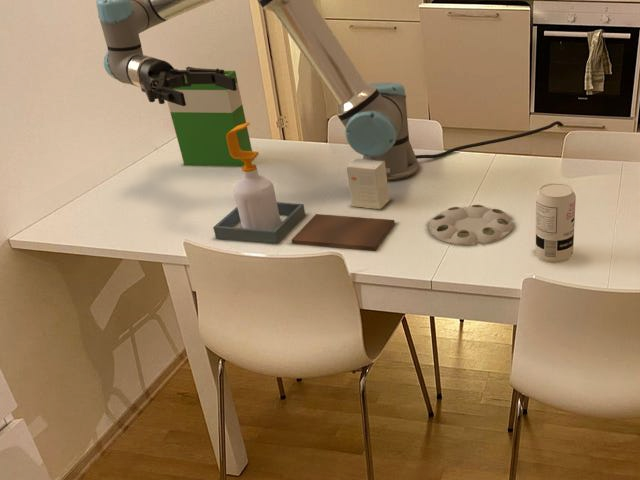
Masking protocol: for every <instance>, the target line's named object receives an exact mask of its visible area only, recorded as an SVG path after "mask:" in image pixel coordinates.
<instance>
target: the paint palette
mask: <svg viewBox="0 0 640 480" xmlns="http://www.w3.org/2000/svg"><path fill="white" fill-rule="evenodd" d="M498 221H500V222H502V223H504V224H502V223H499V222H498ZM445 227H446V229H445V230H442V231H439V230H440V229H442V228H445ZM513 227H514V225H513V222H511V218H510V216H508V214H507V213H506V212H505V211H504V210H501V209H498V208H493V209H490V208H487V207H486V206H484V205H482V204H472V205H470V206H468V207H463V208H462V207H459V206H452V207H449V208H447V209H446V210H445V211H444V212H443V213H441V214H439V215H436V216H434V217H433V218H432V219H431V220H430V221H429V232H430V234H431V235H432V237H434V238H435V239H437V240H439V241H441V242H443V243H447V244H451V245H456V246H475V245H476V244H478V243H481V244H482V245H484V244H490V243H494V242H496V241H499V240H501V239H503V238H504V237H506V236H508V234H510V233H511V232H512V231H513ZM491 230H493V231H494V233H493V234H491V235H490V234H486V233H484V232H488V231H491ZM463 234H465V235H466V234H467V235H468V236H465V237H459V236H458V235H463Z"/></svg>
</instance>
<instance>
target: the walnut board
mask: <svg viewBox="0 0 640 480" xmlns="http://www.w3.org/2000/svg"><path fill="white" fill-rule="evenodd" d="M395 221H396V220H395V219H386V218H375V217H374V218H373V217H360V216H347V215H337V214H336V215H335V214H334V215H333V214H323V213H321V214H320V213H315V214H314V216H313V217H311V219H310V220H309V221H308V222H307V223H306V224H305V225H304V226H303V227H302V228H301V229H300V230H299V231H298V233H296V234H295V236H294V237H293V238H292V239H291V244H292V245H304V246H314V247H325V248H326V247H327V248H338V249H350V250H362V251H373V252H375V251H377V249H378V247H379V246H380V245H381V243H382V242H383V241H384V239H385V238H386V236H387V235H388V234H389V232H390V231H391V229H392V228H393V227H394V226H395V224H396V222H395Z"/></svg>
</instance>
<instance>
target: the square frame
mask: <svg viewBox="0 0 640 480" xmlns="http://www.w3.org/2000/svg"><path fill="white" fill-rule="evenodd" d="M277 206H278V211H279V216H287V217H286V218H285V219H283V221H281V224H280V225H279V226H278V227H277V228H276V229H275V230H274V231H273V230H261V229H249V228H242V227H235V225H237V224H238V223H239V222H241V221H240V216H239V212H238V208H237V206H236V207H235V208H234V209H232V210H231V211H230V212H229V213H228V214H226V216H225V217H223V218H222V219H221V220H219V221H218V222H217V223H216V224H215V225H214V226H213V227H212V228H213V233H214V235H215V240H224V241H225V240H226V241H237V242H249V243H261V244H270V245H271V244H272V245H279V243H281V241H283V239H284V238H285V237H286V236H287V235H288V234H289V233H290V232H291V231H292V230H293V229H294V228H295V227H296V226H297V225H298V224H299V223H300V222H301V221H302V220H303V218H305V217H306V210H305V204H304V203H297V202H296V203H295V202H294V203H293V202H281V201H277Z"/></svg>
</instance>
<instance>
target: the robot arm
mask: <svg viewBox="0 0 640 480" xmlns="http://www.w3.org/2000/svg"><path fill="white" fill-rule="evenodd" d="M214 1H215V0H96V1H95V3H96V9H97V16H98V17H97V18H98V19H99V22H100V26H101V30H102V33H103V36H104V41H105V43H106V48H107V51H106V53H105V54H104V59H103V66H104V70H105V71H106V73H107V74H108V75H109V76H110V77H111V78H112V79H115V80H117V81H118V82H120V83H123V84H125V85H127V84H128V85H131V86H135V87H138V88H140V91H141V92H142V93H145V95H146V97H147V100H148V102H149V103H154V102H156V100H157V101H158V104H159V105H165V103H166V102H167V101H169V102H172V103H175V104H178V105H181V106H186V102H185V98H184V94H183V93H182V92H179V91H176V90H173V88H180V87H190V86H191V85H192V84H216V86H219V87H223V88H226V89H229V90H233V91H236V90H237V88H236V83H235V78H233V77H229V76H226V75H225V72H224V71H225V69H220V68H201V67H199V68H198V67H192V66H187V67H185V69H178V68H174V67H173V65H172V64H171V63H169V62H168V61H166V60H163V59H159V58H156V57H153V56H149V55H145V54H144V52H143V47H142V42H141V39H140V38H141V37H140V34H141V33H143V32H145V31H147V30H149V29H152V28H153V27H155V26H158V25H160V24H163V23H165V22H167V21H169V20H172V19H173V18H176V17H178V16H181V15H183V14H185V13H188V12H190V11H192V10H195V9H198V8H200V7H202V6H204V5H206V4H207V5H208V4H209V3H212V2H214ZM257 2H258V3H259V5H260V6H261V7H262V9H263V10H266V11H269V12H273V13H274V14H275V16H276V18H277V19H278V20H279V22H280V23H281V25H282V26H283V28H284V29H285V30H286V32H287V33H288V35H289V37H290V38H291V39H292V41H293V42H294V44H295V45H296V47H297V48H298V50H299V51H300V53H301V54H302V55H303V57H304V58H305V59H306V61H307V63H308V65H309V66H310V67H311V69H312V70H313V71H314V73H315V74H316V75H317V77H318V79H319V80H320V81H321V83H322V84H323V86H324V87H325V89H326V90H327V92H328V93H329V95H330V96H331V98H332V99H333V101H334V102H335V104H336V116H337V117H338V119H339V120H340V122H341V123H342V125H343V126H344V127H345V139H346V141H347V143H348V145H349V146H350V147H351V149H352V150H353V151H355V153H357V154H359V155H361V156H362V159H368V160H379V161H385V167H386V175H387V182H388V181H397V180H402V179H406V178H409V177H412V176H413V175H415V174H416V173H417V172H418V170H419V162H418V160H419V159H437V158H441V157H445V156H447V155H449V154H452V153H455V152H457V151H463V150H466V149H470V148H476V147H482V146H486V145H491V144H496V143H502V142H506V141H507V142H508V141H511V140H515V139H519V138H523V137H526V136H531V135H534V134H537V133H541V132H543V131H546V130H549V129H551V128H553V127H555V126H559V127H564V123H562V122H561V121H559V120H557V121H553V122H552V123H549V124H548V125H545V126H541V127H539V128H536V129H533V130H530V131H525V132H522V133H518V134H514V135H509V136H505V137H500V138H495V139H490V140H484V141H480V142H475V143H468V144H464V145H459V146H455V147H453V148H451V149H448V150H445V151H442V152H439V153H434V154H415V151H414V148H413V146H412V144H411V142H410V135H409V122H408V110H407V94H406V91H405V90H406V89H405V86H404V85H403V84H401V83H399V82H392V81H391V82H390V81H389V82H388V81H387V82H386V81H385V82H384V81H381V82H370V83H366V81H365V80H364V78H363V77H362V75H361V74H360V72H359V71H358V69H357V67H356V66H355V64H354V63H353V61H352V60H351V58H350V56H349V55H348V54H347V52H346V50H345V49H344V47H343V46H342V45H341V43H340V42H339V39H337V37H336V35H335V34H334V32H333V31H332V29H331V28H330V26H329V24H328V23H327V22H326V20H325V19H324V17H323V15H322V14H321V12H320V11H319V10H318V7H316V5H315V3H314V2H313V1H312V0H257ZM185 77H186V78H187V82H188V83H185ZM165 101H166V102H165Z"/></svg>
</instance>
